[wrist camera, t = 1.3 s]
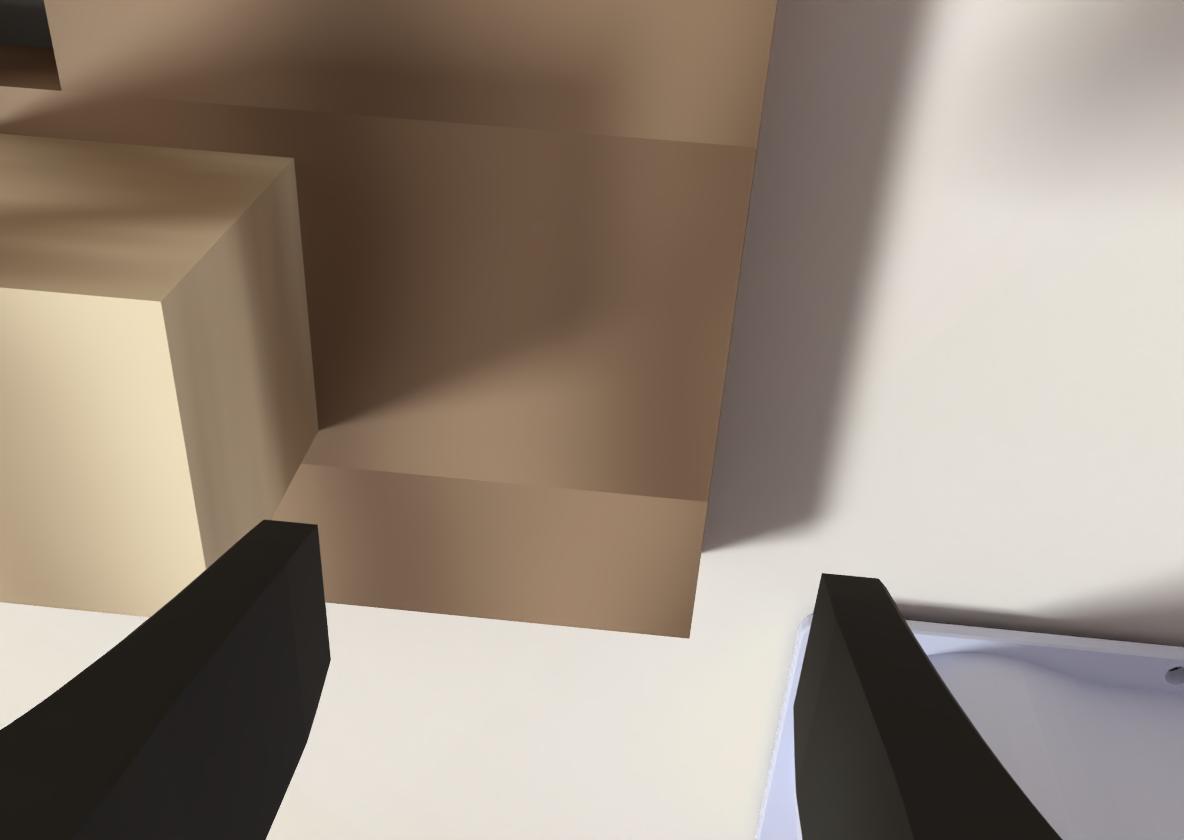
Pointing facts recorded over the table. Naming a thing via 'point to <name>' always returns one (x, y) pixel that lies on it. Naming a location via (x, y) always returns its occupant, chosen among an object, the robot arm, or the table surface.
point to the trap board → (470, 266)
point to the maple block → (144, 365)
